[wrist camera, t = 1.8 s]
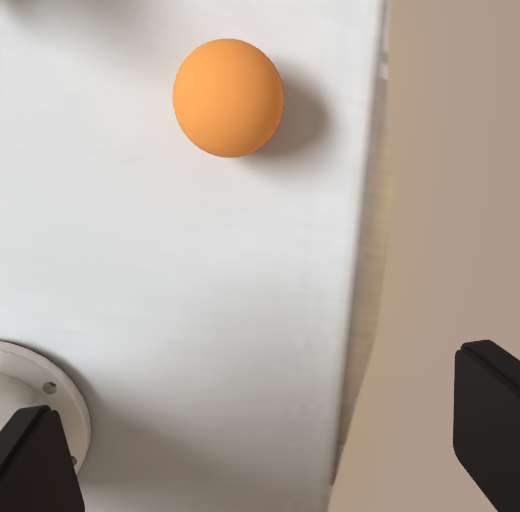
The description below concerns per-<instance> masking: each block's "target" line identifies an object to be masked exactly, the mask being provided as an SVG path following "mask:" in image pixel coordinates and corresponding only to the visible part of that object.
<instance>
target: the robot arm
mask: <svg viewBox="0 0 520 512" xmlns="http://www.w3.org/2000/svg"><path fill="white" fill-rule="evenodd" d="M90 437H91V423H90V415H89V411H88V409H87V406H86V403H85V401H84V398H83V396H82V395H81V393H80V392H79V390H78V388H77V387H76V385H75V384H74V382H73V381H72V380H71V379H70V378H69V377H68V376H67V375H66V374H65V373H64V372H63V371H62V370H61V369H60V368H59V367H57V366H56V365H55V364H53V363H52V362H50V361H49V360H48V359H46V358H45V357H43V356H41V355H39V354H37V353H35V352H33V351H31V350H29V349H26V348H23V347H20V346H17V345H14V344H11V343H7V342H1V341H0V512H85V506H84V501H83V498H82V494H81V490H80V487H79V483H78V480H77V476H76V475H77V474H78V472H79V470H80V468H81V465H82V463H83V461H84V459H85V457H86V454H87V451H88V448H89V445H90ZM453 447H454V451H455V454H456V456H457V458H458V460H459V461H460V463H461V464H462V465H463V466H464V468H465V469H466V471H467V472H468V473H469V475H470V476H471V477H472V478H473V480H474V481H475V482H476V484H477V485H478V486H479V488H480V489H481V490H482V492H483V493H484V494H485V495H486V497H487V498H488V499H489V501H490V502H491V503H492V505H493V506H494V507H495V508H496V510H497V511H498V512H520V361H519V360H518V359H517V358H515V357H514V356H512V355H511V354H510V353H508V352H507V351H505V350H504V349H502V348H501V347H499V346H498V345H497V344H495V343H494V342H492V341H490V340H482V341H474V342H467V343H464V344H463V345H462V346H461V350H458V351H457V352H456V354H455V380H454V423H453Z"/></svg>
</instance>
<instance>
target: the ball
mask: <svg viewBox="0 0 520 512" xmlns="http://www.w3.org/2000/svg"><path fill="white" fill-rule="evenodd" d="M173 106H174V110H175V114H176V117H177V120H178V122H179V124H180V126H181V128H182V130H183V131H184V133H185V134H186V136H187V137H188V138H189V139H190V140H191V141H192V142H193V143H194V144H195V145H196V146H198V147H199V148H200V149H202V150H204V151H206V152H207V153H210V154H213V155H216V156H220V157H228V158H230V157H240V156H244V155H247V154H250V153H252V152H254V151H256V150H258V149H259V148H261V147H262V146H263V145H264V144H265V143H267V141H268V140H269V139H270V138H271V137H272V136H273V134H274V133H275V131H276V129H277V127H278V125H279V123H280V120H281V118H282V113H283V108H284V92H283V86H282V82H281V79H280V76H279V74H278V72H277V70H276V68H275V66H274V65H273V63H272V62H271V61H270V59H269V58H268V57H267V56H266V55H265V54H264V53H263V52H262V51H260V50H259V49H258V48H256V47H255V46H253V45H251V44H249V43H246V42H244V41H240V40H236V39H218V40H213V41H210V42H207V43H205V44H203V45H201V46H200V47H198V48H197V49H195V50H194V51H193V52H192V53H191V54H190V55H189V56H188V57H187V58H186V59H185V61H184V62H183V64H182V65H181V67H180V69H179V71H178V73H177V75H176V79H175V82H174V88H173Z"/></svg>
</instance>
